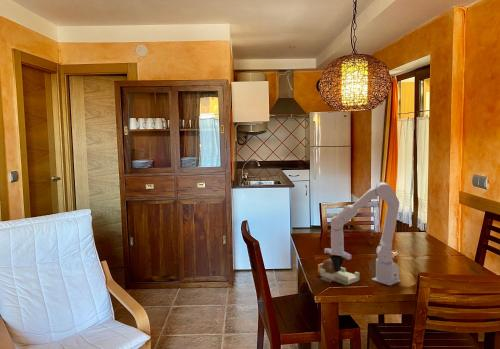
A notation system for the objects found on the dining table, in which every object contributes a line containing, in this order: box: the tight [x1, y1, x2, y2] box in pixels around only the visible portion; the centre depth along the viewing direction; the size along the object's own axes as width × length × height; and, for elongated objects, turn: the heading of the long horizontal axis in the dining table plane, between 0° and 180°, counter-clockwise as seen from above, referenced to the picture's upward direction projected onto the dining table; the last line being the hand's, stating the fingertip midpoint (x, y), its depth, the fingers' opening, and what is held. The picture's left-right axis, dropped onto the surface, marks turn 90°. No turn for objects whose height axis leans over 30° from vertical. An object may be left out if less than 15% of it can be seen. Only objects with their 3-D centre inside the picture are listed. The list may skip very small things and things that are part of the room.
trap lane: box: [317, 262, 361, 286], centre depth 179 cm, size 17×9×5 cm, turn 36°
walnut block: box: [322, 258, 337, 274], centre depth 183 cm, size 5×5×5 cm
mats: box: [319, 276, 335, 283], centre depth 179 cm, size 11×15×1 cm
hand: (337, 270), depth 180 cm, fingers closed
